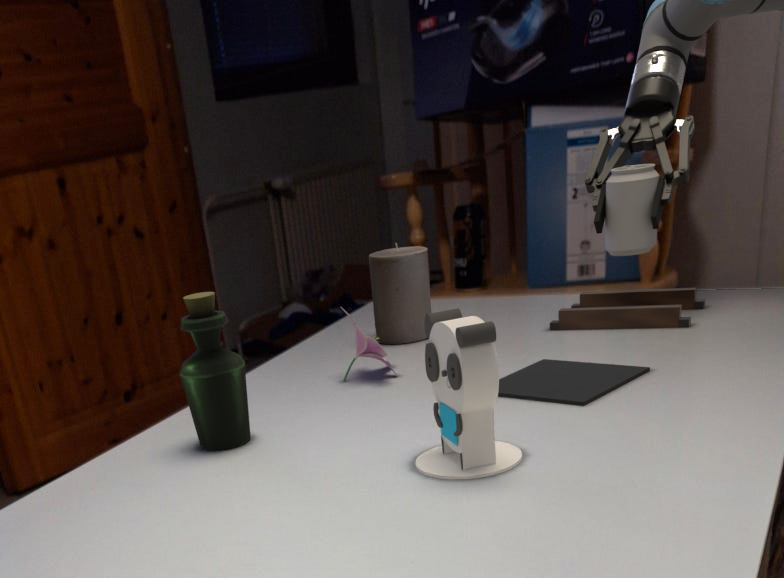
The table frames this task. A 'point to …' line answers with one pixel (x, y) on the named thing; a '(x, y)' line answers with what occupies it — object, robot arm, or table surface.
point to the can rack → (629, 310)
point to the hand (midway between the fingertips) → (625, 225)
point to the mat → (567, 381)
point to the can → (630, 210)
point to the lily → (367, 347)
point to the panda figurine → (464, 399)
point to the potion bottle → (214, 378)
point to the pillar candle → (400, 293)
